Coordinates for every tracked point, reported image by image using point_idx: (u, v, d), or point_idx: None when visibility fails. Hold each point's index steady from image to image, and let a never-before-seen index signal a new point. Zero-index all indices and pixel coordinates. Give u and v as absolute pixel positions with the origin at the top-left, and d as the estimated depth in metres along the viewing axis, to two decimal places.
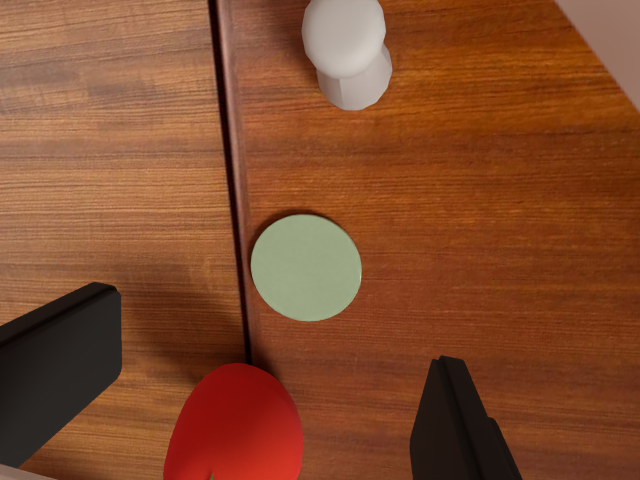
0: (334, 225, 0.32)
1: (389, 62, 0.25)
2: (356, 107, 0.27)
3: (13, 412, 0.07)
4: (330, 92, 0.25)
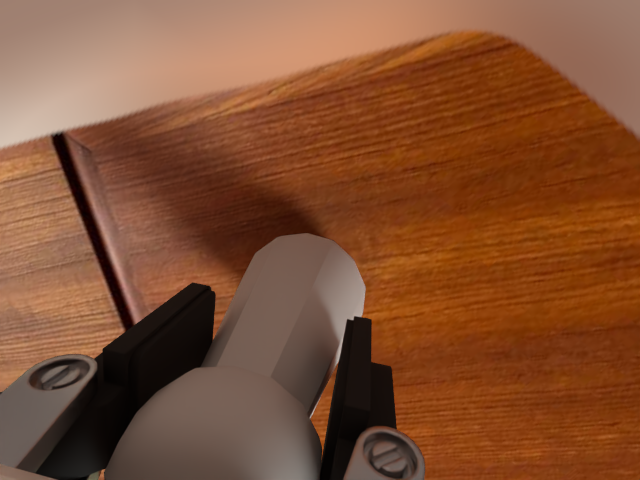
0: None
1: (357, 290, 0.15)
2: None
3: None
4: None
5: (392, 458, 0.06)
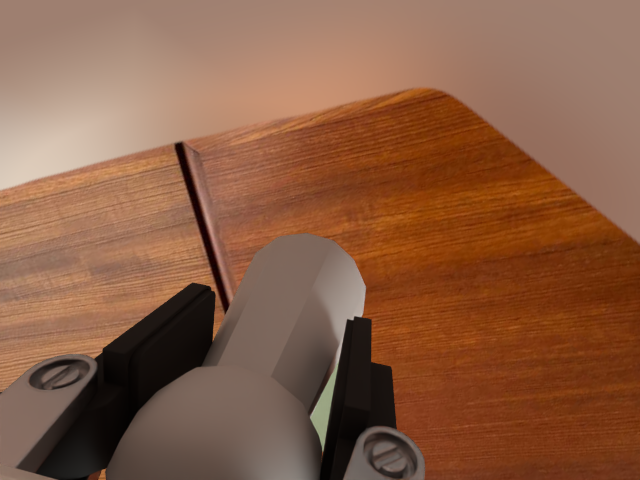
0: None
1: (357, 290, 0.15)
2: None
3: None
4: None
5: (392, 458, 0.06)
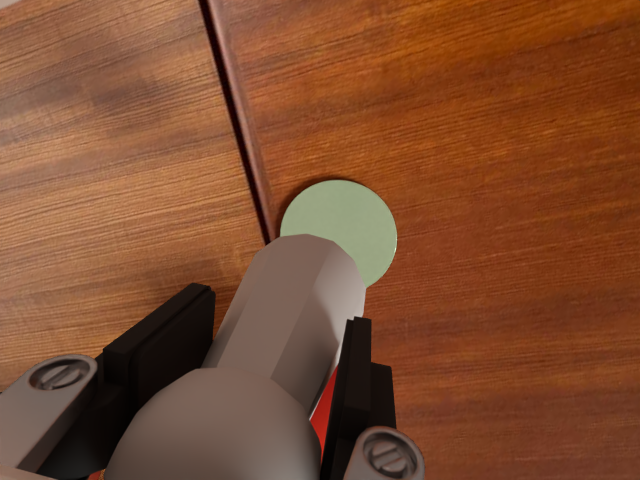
0: (360, 185, 0.31)
1: (358, 290, 0.15)
2: None
3: None
4: None
5: (392, 458, 0.06)
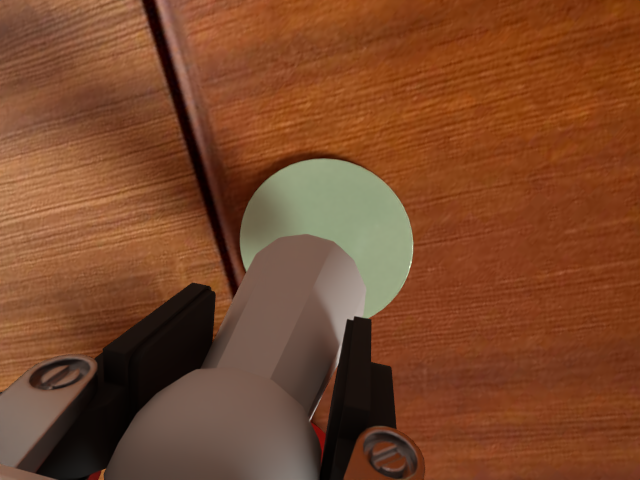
0: (357, 166, 0.20)
1: (358, 291, 0.15)
2: None
3: None
4: None
5: (392, 458, 0.06)
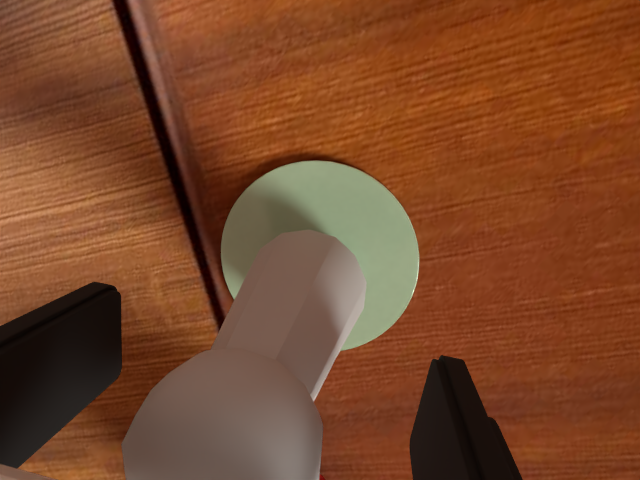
0: (354, 170, 0.17)
1: (358, 284, 0.15)
2: None
3: (13, 412, 0.07)
4: None
5: None
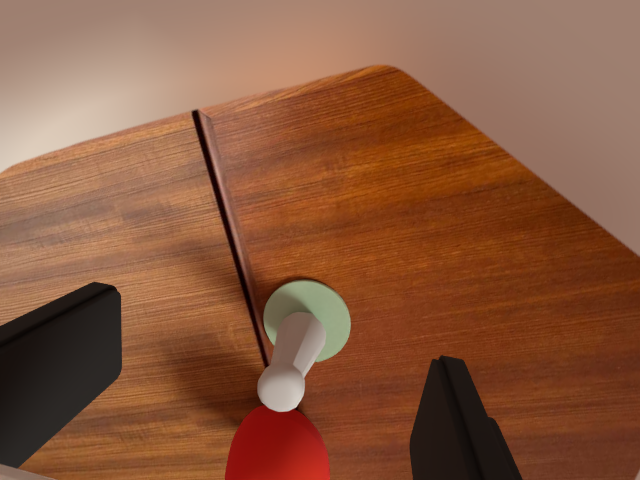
0: (322, 285, 0.41)
1: (321, 336, 0.39)
2: None
3: (13, 412, 0.07)
4: None
5: None
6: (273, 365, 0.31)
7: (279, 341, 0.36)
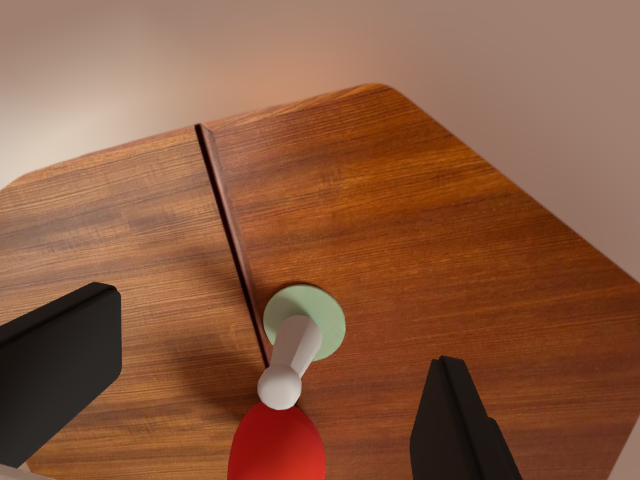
0: (318, 290, 0.44)
1: (318, 338, 0.41)
2: None
3: (13, 412, 0.07)
4: None
5: None
6: (272, 367, 0.34)
7: (278, 343, 0.39)
